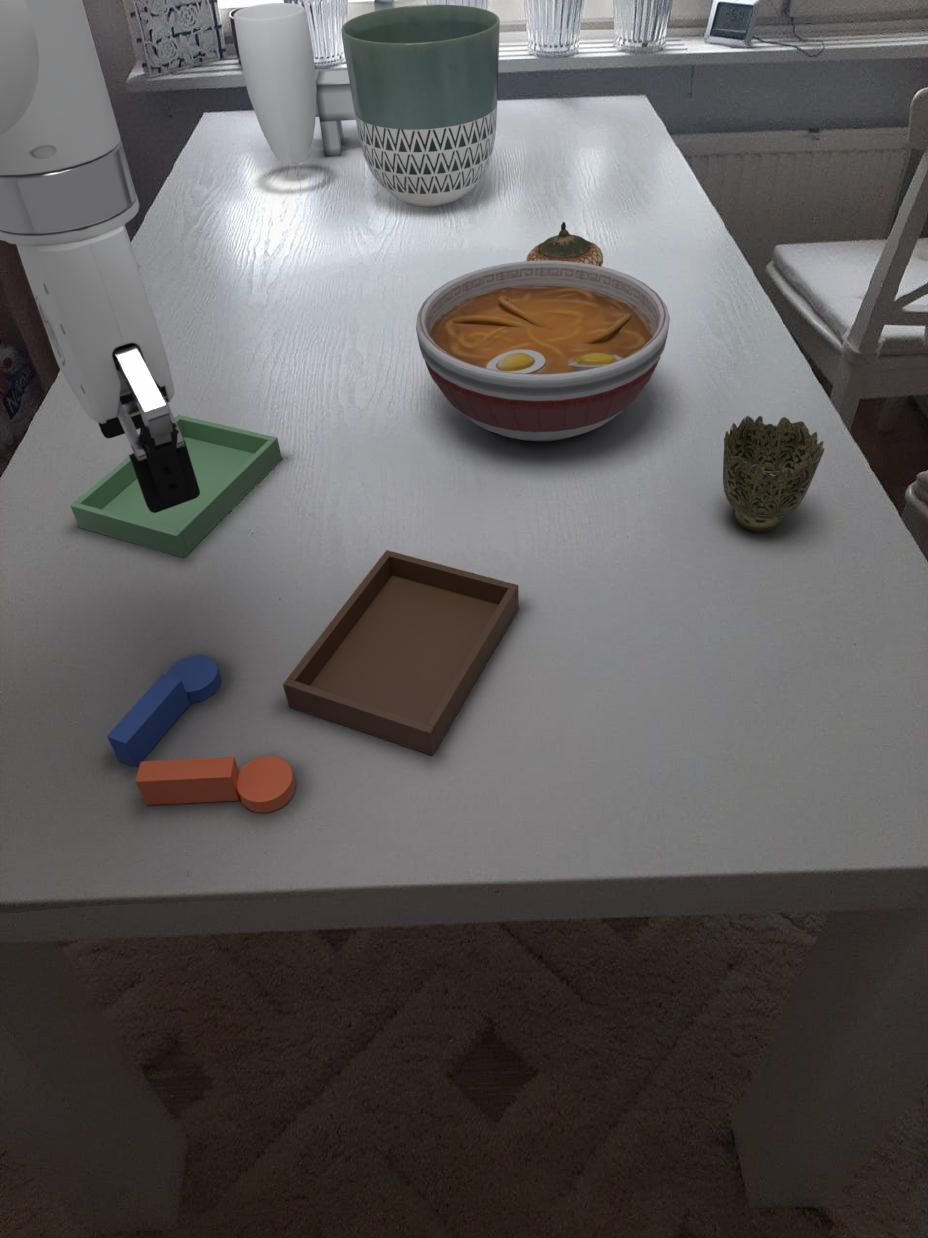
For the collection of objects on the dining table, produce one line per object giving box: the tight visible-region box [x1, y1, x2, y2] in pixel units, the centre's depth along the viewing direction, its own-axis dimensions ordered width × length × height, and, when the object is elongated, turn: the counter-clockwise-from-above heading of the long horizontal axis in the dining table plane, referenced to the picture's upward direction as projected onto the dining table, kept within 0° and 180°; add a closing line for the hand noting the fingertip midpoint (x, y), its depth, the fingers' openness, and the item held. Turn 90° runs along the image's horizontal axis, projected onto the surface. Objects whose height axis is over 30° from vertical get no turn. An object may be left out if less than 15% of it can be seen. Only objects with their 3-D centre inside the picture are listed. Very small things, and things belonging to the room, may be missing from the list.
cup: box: [233, 2, 317, 165], centre depth 132 cm, size 10×10×22 cm
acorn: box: [525, 221, 604, 267], centre depth 102 cm, size 8×8×10 cm
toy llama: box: [316, 0, 396, 158], centre depth 142 cm, size 8×18×20 cm, turn 92°
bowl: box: [415, 260, 671, 442], centre depth 88 cm, size 23×23×10 cm
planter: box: [340, 4, 501, 207], centre depth 124 cm, size 20×20×21 cm
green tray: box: [70, 414, 283, 559], centre depth 83 cm, size 15×11×2 cm
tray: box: [282, 550, 520, 756], centre depth 68 cm, size 15×11×2 cm
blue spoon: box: [106, 654, 222, 768], centre depth 64 cm, size 10×4×3 cm, turn 156°
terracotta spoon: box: [135, 755, 296, 814], centre depth 59 cm, size 10×4×3 cm, turn 92°
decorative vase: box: [722, 415, 825, 533], centre depth 75 cm, size 8×7×8 cm
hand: (150, 464), depth 60 cm, fingers open, 9 cm apart
